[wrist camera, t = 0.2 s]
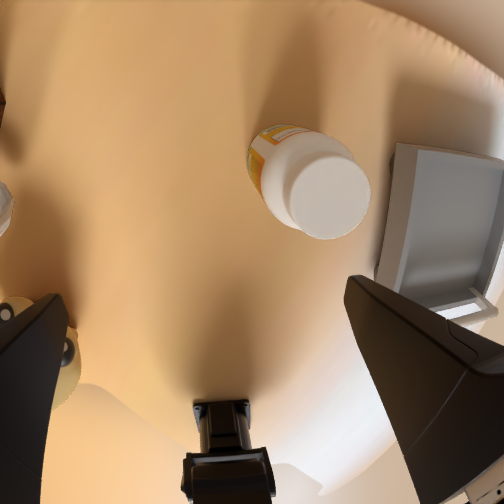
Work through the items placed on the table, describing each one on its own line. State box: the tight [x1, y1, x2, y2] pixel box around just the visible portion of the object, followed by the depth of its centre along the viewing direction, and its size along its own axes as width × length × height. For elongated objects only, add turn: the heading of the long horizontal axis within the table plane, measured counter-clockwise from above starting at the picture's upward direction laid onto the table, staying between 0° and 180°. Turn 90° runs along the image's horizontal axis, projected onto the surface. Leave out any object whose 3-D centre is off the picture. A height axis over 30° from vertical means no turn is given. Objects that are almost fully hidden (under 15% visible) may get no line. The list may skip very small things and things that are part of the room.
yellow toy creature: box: [0, 296, 81, 411], centre depth 21 cm, size 10×12×11 cm
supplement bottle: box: [247, 124, 371, 239], centre depth 18 cm, size 5×5×10 cm
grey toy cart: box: [374, 142, 504, 327], centre depth 23 cm, size 14×13×8 cm
